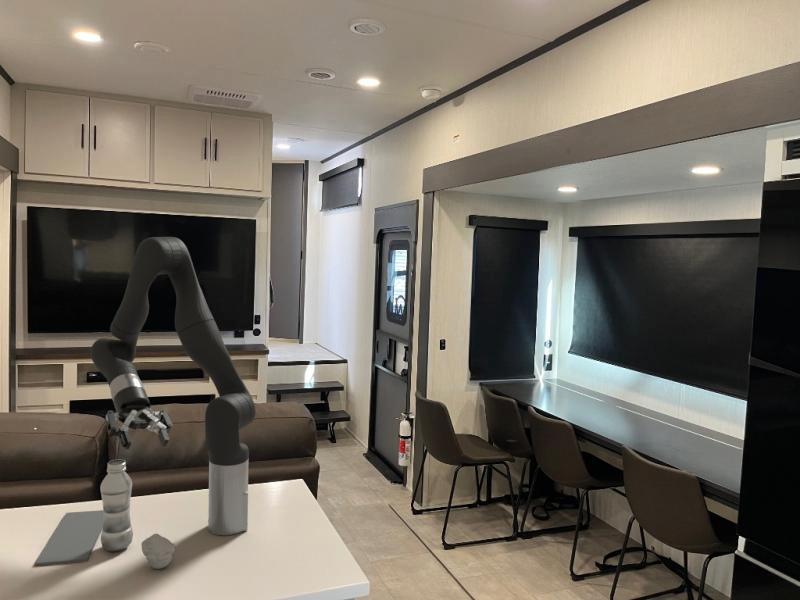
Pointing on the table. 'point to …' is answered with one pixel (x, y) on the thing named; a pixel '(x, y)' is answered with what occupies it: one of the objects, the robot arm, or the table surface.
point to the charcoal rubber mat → (73, 538)
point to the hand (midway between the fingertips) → (147, 445)
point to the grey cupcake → (158, 551)
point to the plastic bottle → (116, 507)
